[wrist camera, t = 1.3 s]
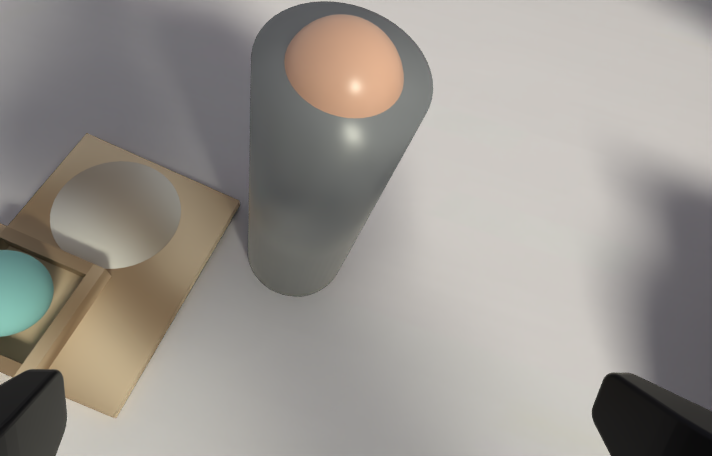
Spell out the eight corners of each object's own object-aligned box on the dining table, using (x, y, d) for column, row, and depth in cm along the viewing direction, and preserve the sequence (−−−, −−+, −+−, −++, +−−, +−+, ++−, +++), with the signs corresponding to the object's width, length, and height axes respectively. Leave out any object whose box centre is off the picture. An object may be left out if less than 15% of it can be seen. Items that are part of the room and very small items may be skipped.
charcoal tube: (321, 311, 22) (417, 150, 9) (230, 272, 21) (212, 56, 9) (355, 231, 24) (469, 15, 12) (273, 195, 24) (302, -63, 11)
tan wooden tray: (116, 418, 18) (105, 416, 17) (-77, 337, 18) (-103, 328, 16) (239, 205, 23) (239, 191, 22) (89, 139, 23) (80, 120, 21)
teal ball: (31, 357, 18) (-10, 341, 15) (-47, 324, 18) (-102, 302, 15) (82, 285, 19) (54, 258, 16) (11, 254, 19) (-30, 222, 16)
